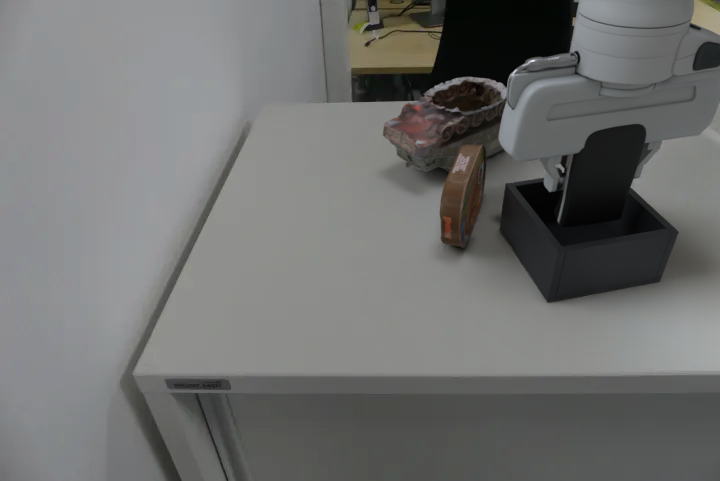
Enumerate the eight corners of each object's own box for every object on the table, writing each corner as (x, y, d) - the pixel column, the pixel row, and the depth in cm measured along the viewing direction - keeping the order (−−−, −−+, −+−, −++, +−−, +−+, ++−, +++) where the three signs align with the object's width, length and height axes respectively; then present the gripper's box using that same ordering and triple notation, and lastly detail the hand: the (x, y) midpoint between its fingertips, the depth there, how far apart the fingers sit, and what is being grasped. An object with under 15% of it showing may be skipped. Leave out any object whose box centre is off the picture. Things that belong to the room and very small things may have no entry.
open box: (596, 213, 68) (609, 167, 64) (660, 281, 59) (679, 231, 55) (499, 230, 67) (505, 183, 63) (547, 302, 57) (558, 252, 53)
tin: (461, 262, 62) (466, 200, 57) (433, 257, 63) (436, 195, 58) (486, 191, 73) (492, 133, 68) (462, 187, 74) (466, 130, 69)
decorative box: (544, 163, 78) (556, 97, 72) (427, 210, 71) (429, 141, 65) (482, 127, 87) (488, 67, 81) (373, 165, 80) (370, 102, 74)
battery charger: (605, 201, 61) (631, 103, 54) (623, 221, 58) (654, 120, 51) (544, 209, 61) (563, 111, 54) (559, 230, 58) (582, 129, 51)
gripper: (526, 74, 45) (507, 215, 53) (755, 45, 47) (701, 183, 56) (496, 48, 49) (482, 181, 58) (705, 22, 52) (662, 153, 61)
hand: (591, 182), depth 57 cm, fingers closed on battery charger, 7 cm apart
